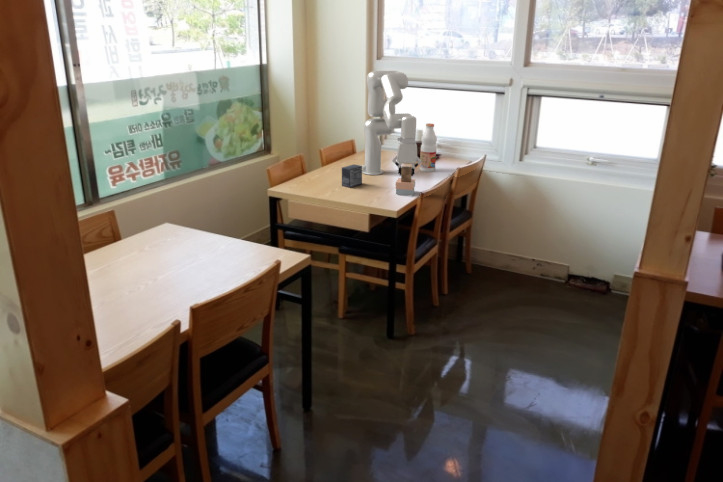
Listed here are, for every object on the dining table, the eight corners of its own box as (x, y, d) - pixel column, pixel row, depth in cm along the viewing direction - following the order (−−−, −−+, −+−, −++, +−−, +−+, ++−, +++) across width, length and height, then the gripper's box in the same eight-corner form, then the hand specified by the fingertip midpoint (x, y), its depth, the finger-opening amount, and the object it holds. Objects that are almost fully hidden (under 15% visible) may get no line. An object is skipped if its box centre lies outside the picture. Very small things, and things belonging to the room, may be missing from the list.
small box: (353, 182, 331) (353, 163, 327) (362, 184, 327) (362, 165, 323) (340, 185, 323) (341, 167, 320) (350, 188, 319) (350, 169, 316)
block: (401, 181, 308) (401, 168, 306) (401, 179, 313) (402, 166, 310) (410, 182, 307) (411, 168, 305) (411, 179, 312) (411, 166, 310)
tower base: (395, 195, 309) (396, 189, 308) (397, 190, 318) (397, 184, 316) (413, 196, 308) (413, 190, 307) (414, 191, 316) (414, 185, 315)
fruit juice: (419, 168, 365) (422, 122, 356) (435, 169, 364) (438, 123, 354) (418, 171, 357) (421, 124, 347) (434, 172, 355) (437, 125, 346)
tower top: (395, 188, 308) (395, 182, 307) (398, 184, 317) (398, 178, 315) (412, 190, 307) (413, 183, 305) (415, 185, 315) (415, 179, 314)
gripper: (390, 141, 300) (389, 176, 307) (424, 142, 298) (422, 178, 305) (391, 138, 307) (390, 172, 314) (425, 140, 305) (423, 174, 312)
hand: (406, 174), depth 309 cm, fingers open, 5 cm apart
